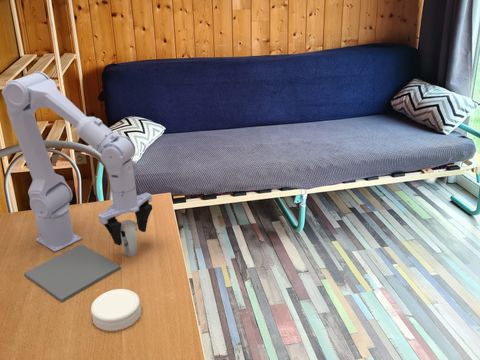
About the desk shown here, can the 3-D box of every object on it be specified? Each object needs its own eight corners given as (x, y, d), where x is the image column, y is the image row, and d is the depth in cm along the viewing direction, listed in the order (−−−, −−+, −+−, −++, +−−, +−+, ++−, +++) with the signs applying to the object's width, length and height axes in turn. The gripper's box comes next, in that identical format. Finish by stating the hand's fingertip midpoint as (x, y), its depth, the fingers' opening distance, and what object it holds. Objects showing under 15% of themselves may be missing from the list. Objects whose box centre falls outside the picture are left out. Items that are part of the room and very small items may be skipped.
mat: (24, 275, 120) (23, 272, 120) (82, 246, 131) (81, 244, 131) (61, 302, 111) (61, 299, 110) (120, 268, 121) (120, 266, 121)
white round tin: (121, 294, 113) (119, 282, 111) (151, 313, 107) (149, 299, 105) (83, 319, 106) (80, 305, 104) (113, 339, 100) (110, 325, 98)
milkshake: (139, 259, 125) (134, 224, 121) (118, 257, 126) (113, 222, 122) (145, 249, 129) (141, 215, 125) (126, 247, 130) (121, 213, 126)
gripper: (108, 204, 112) (116, 255, 118) (157, 181, 122) (163, 229, 128) (89, 195, 116) (98, 245, 122) (138, 174, 126) (144, 221, 132)
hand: (130, 237), depth 125 cm, fingers open, 7 cm apart
